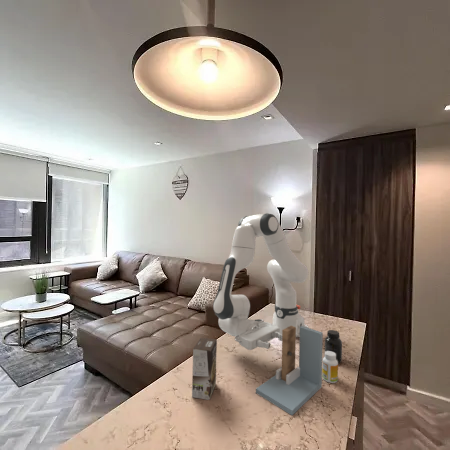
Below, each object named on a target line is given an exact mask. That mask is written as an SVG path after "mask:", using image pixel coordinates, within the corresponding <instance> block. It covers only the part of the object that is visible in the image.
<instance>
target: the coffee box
mask: <svg viewBox="0 0 450 450" xmlns="http://www.w3.org/2000/svg"><path fill="white" fill-rule="evenodd" d="M217 342H218V340H217V339H216V338H204V337H200V338H199V340H198V341H197V343H196V344H195V346H194V347H193V348H192V351H193V352H192V378H191V379H192V380H191V381H192V383H191V384H192V386H191V397H192V398H195V399H202V400H207V401H208V400H210V399H211V397H212V394H213V393H214V389H215V388H216V384H217V353H218V351H217V347H218V346H217V344H218V343H217Z"/></svg>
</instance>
